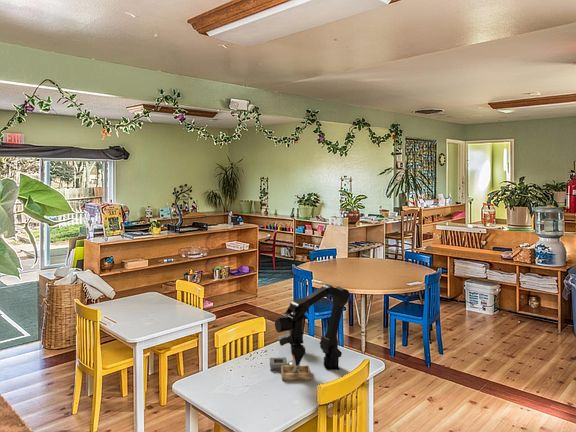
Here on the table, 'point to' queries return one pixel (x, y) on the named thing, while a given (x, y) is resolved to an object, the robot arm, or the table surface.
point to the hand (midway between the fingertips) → (296, 361)
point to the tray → (302, 375)
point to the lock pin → (295, 368)
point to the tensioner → (278, 363)
